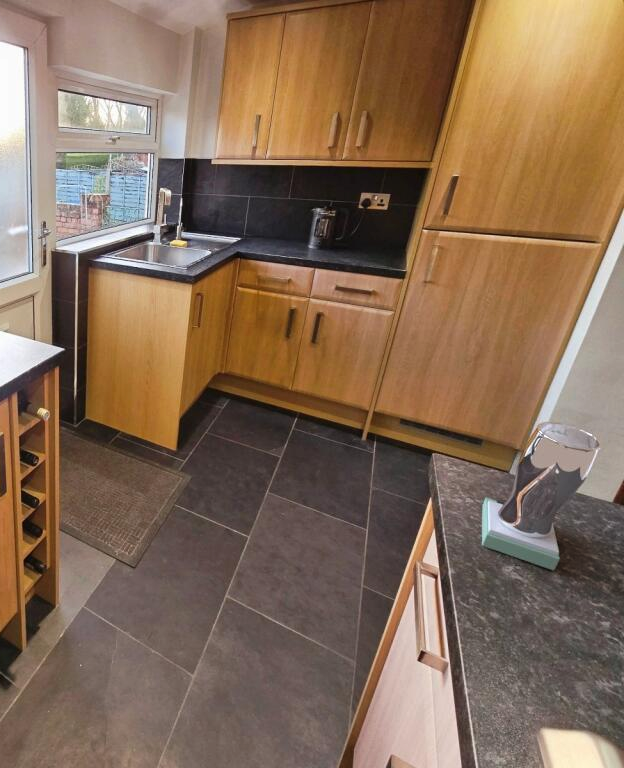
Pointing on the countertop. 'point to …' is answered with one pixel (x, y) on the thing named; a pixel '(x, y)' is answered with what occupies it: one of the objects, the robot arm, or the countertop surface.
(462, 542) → the countertop surface
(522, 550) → the scale
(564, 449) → the beer glass
